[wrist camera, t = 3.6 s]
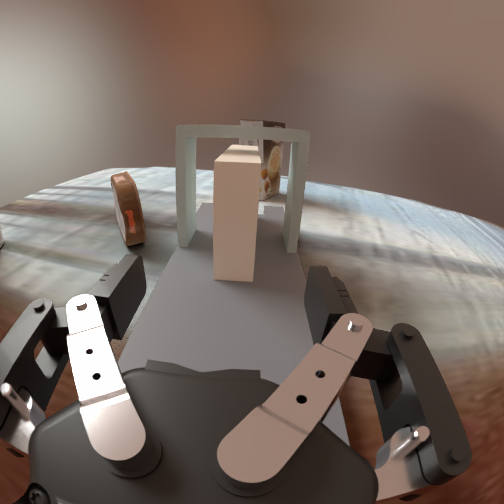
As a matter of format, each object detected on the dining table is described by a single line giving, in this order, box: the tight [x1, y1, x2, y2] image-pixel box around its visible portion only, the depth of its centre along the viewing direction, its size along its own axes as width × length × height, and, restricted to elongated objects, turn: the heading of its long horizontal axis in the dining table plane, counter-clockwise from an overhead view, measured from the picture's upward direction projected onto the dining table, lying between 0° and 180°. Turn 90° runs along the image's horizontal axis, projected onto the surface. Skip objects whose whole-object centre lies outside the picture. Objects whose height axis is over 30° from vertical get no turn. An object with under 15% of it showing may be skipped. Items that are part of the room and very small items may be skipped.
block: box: [213, 145, 261, 282], centre depth 29 cm, size 3×17×10 cm, turn 0°
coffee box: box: [239, 119, 285, 201], centre depth 54 cm, size 9×6×16 cm
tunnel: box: [176, 125, 310, 253], centre depth 28 cm, size 13×5×13 cm, turn 90°
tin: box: [111, 171, 146, 246], centre depth 34 cm, size 15×3×8 cm, turn 32°
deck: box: [118, 203, 350, 446], centre depth 26 cm, size 13×39×2 cm, turn 0°
